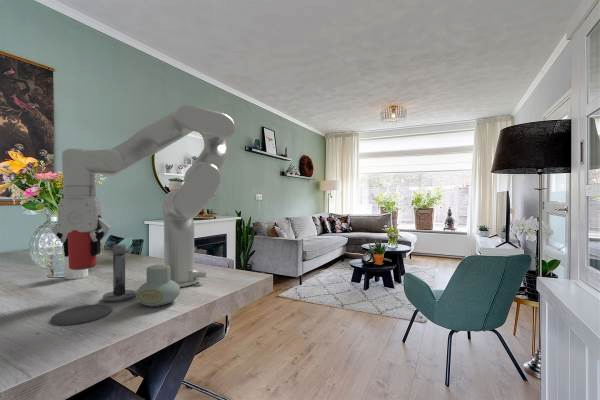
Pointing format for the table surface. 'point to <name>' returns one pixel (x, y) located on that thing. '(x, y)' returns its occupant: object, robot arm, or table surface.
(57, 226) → the robot arm
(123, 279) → the clip post
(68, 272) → the white cup
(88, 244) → the beer can
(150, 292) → the air freshener
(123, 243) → the bar
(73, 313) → the rubber mat
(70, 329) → the table surface
